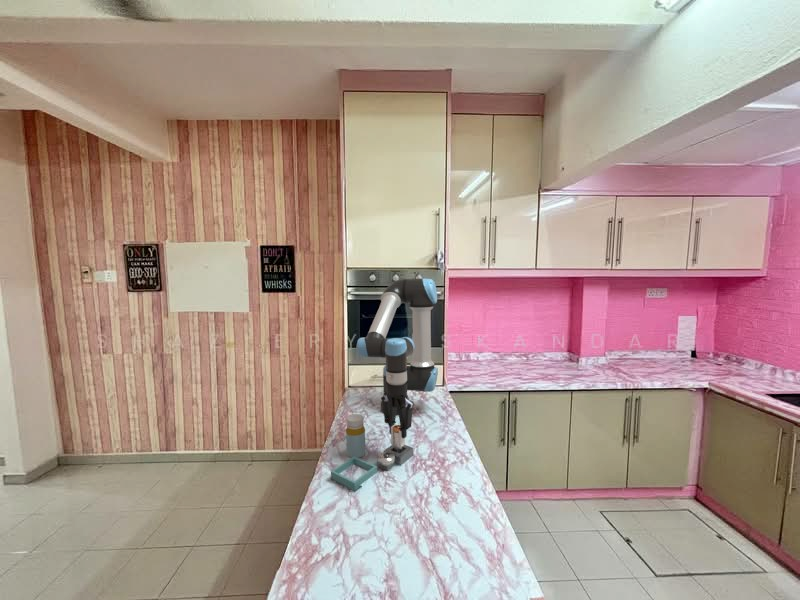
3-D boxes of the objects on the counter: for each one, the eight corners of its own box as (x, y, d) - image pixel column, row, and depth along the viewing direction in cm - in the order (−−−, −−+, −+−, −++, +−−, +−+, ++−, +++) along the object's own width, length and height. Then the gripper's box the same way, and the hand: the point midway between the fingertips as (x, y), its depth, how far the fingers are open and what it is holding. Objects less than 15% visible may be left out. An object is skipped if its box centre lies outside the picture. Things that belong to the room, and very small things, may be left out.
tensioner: (390, 477, 116) (389, 461, 115) (372, 469, 120) (372, 454, 120) (413, 458, 127) (413, 444, 126) (396, 451, 131) (396, 438, 131)
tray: (354, 464, 124) (353, 456, 123) (377, 474, 117) (377, 466, 117) (331, 479, 115) (330, 471, 115) (354, 492, 108) (354, 483, 108)
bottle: (362, 461, 125) (361, 422, 124) (344, 460, 126) (342, 421, 125) (368, 451, 132) (366, 414, 130) (350, 450, 133) (349, 413, 132)
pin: (397, 453, 128) (397, 424, 127) (404, 456, 126) (403, 426, 125) (392, 457, 126) (392, 427, 124) (399, 460, 124) (398, 429, 123)
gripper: (373, 380, 125) (374, 442, 127) (408, 389, 115) (410, 455, 118) (385, 375, 131) (387, 433, 133) (421, 383, 121) (422, 446, 124)
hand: (398, 443), depth 125 cm, fingers closed on pin, 3 cm apart
